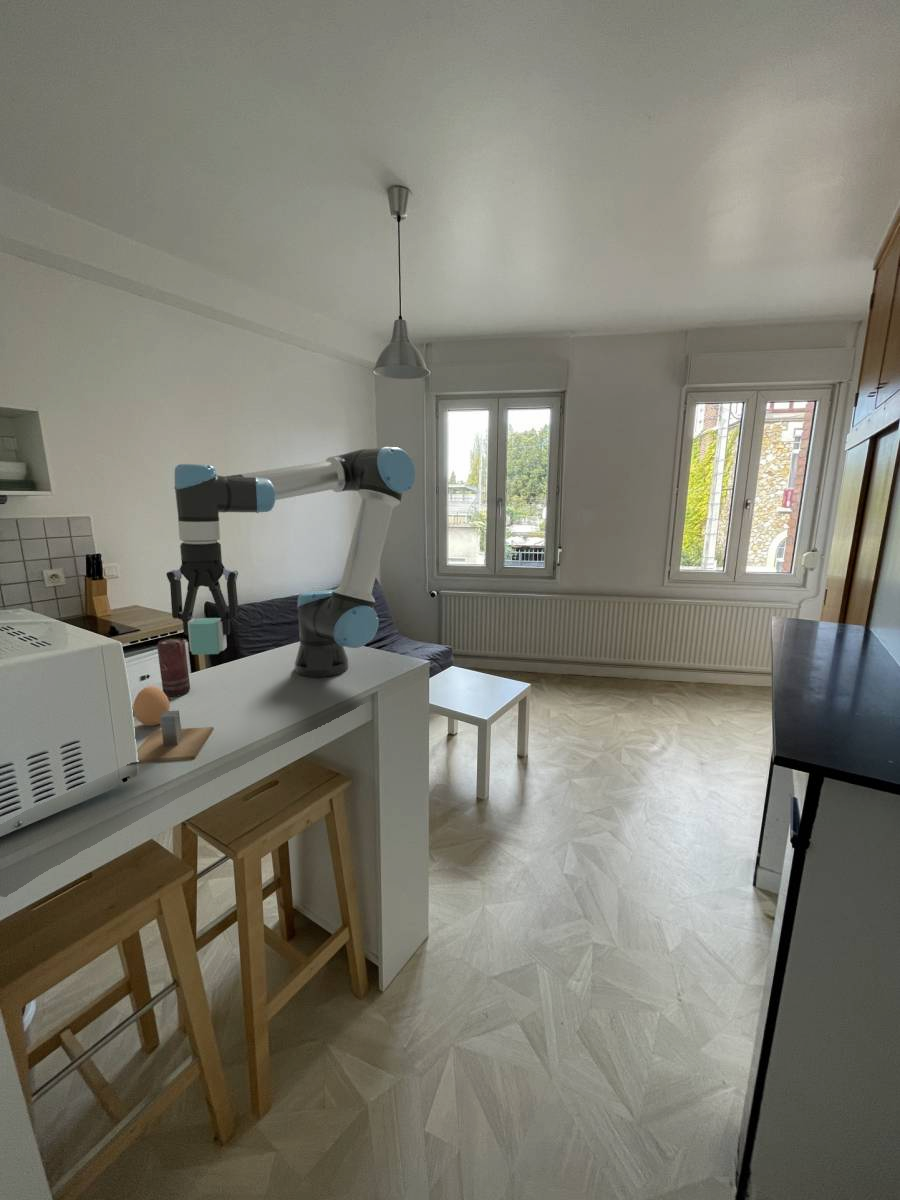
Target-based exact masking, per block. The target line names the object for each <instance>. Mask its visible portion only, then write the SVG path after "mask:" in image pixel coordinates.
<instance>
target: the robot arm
mask: <svg viewBox="0 0 900 1200" xmlns="http://www.w3.org/2000/svg"><path fill="white" fill-rule="evenodd" d="M173 476H174V488H173V489H174V490H175V491H174V493H175V499H176V500H175V501H176V509H177V522H178V536H179V537H178V538H179V540H180V541H182V542H181V543H180V545H179V548H180V559H181V565H180V567H179V569H175V570H173V569H172V570H170V571H168V572H167V573H166V577H167V580H168V582H169V584H170V586H169V589H170V600H171V602H170V603H171V616H172V618H173V619H175V620H176V619H178V620H181V621H182V626H183V627H182V628H183V635H185V636H188V642H189V652H192V651H191V639H190V627H189V624H190V623H192V622H193V621H195V620H196V618H194V617H193V616H194V615H193V612H194V607H195V604H196V600H197V594H198V590H199V588H200V587H206V588H207V587H208V590H209V592H210V593H211V595H212V598H213V601H214V603H215V606H216V609H217V612H218V615H219V618H221V619H220V620H219V621H218V634H219V647H220V652H223V651H224V652H225V650H226V648H227V647H228V643H227V636H228V635H230V633H231V621H230V620H231V619H233V618H236V617H237V616H238V615H239V600H238V592H237V591H238V590H237V580H238V579H237V578H238V576H239V571H237V570H229V569H227V568H225V566H224V564H223V562H222V560H223V559H222V546H221V543H220V542H218V541H219V540H221V533H220V532H221V531H220V517H219V514H220V513H256V514H259V513H268V512H270V511H272V510H273V508H274V507H275V503H276V501H278V500H284V499H289V498H293V497H301V496H305V495H309V494H315V493H320V492H326V491H333V492H335V493H341V492H345V491H346V492H349V491H350V492H351V491H353V492H357V493H358V495H359V496H360V499H361V502H360V506H359V509H358V514H357V518H356V522H355V525H354V526H355V527H354V529H353V533H352V537H351V541H350V545H349V549H348V553H347V557H346V561H345V564H344V569H343V573H342V577H341V581H340V584H339V586H338V587H336V588H335V589H320V590H311V591H307V592H302V593H300V594H299V595H298V597H297V605H296V608H297V615H298V632H299V633H298V634H299V647H298V650H297V654H296V658H295V661H294V671H295V673H297V674H298V675H300V676H303V677H309V678H324V677H331V676H336V675H339V674H341V673H344V672H345V671H347V670H348V669H349V658H348V655H347V653H346V650H345V647H347V648H350V649H357V648H362V647H364V646H365V645H367V644H368V643H370V641H372V640H373V639H374V637H375V636H376V634H377V632H378V629H379V624H380V622H379V617H378V614H377V612H376V611H375V605H376V600H375V597H374V596H373V589H374V585H375V581H376V578H377V574H378V571H379V570H378V569H379V566H380V563H381V562H380V561H381V559H382V555H383V554H382V553H383V549H384V546H385V541H386V537H387V533H388V529H389V526H390V523H391V518H392V514H393V510H394V508H396V507H397V506H399V505H400V504H401V502H402V501H401V500H402V497H403V494H405V493H407V492H409V490H411V489H412V488H413V486H414V485H415V482H416V467H415V464H414V463H413V459H412V458H411V455H410V454H408V452H406V450H404V449H402V448H399V447H392V446H384V447H378V448H377V447H376V448H362V449H359V450H354V451H350V452H347V453H343V454H339V455H335V456H329V457H327V458H326V459H325V461H319V462H313V463H306V464H305V463H304V464H300V465H299V464H298V465H292V466H285V467H279V468H272V469H271V468H270V469H265V470H260V471H253V472H252V471H251V472H245V473H239V474H232V475H226V476H223V475H217V471H216V467H214V466H213V465H208V464H207V465H206V464H191V463H190V464H189V463H187V464H186V463H184V464H183V463H181V464H177V465H176V466H175V468H174V475H173ZM182 576H183V577H184V578H185V579H186V580H187V581H188V583H187V588H186V590H187V592H186V596H185V601H184V606H183V596H182V582H181V580H182ZM222 576H224V579H225V581H226V591H227V601H228V606H227V603H226V600H225V597H224V595H223V593H222V592H223V591H222V590H221V589H222V588H221V584H220V581H219V580H220V579H221V577H222Z"/></svg>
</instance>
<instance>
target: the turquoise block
mask: <svg viewBox="0 0 900 1200" xmlns="http://www.w3.org/2000/svg"><path fill="white" fill-rule="evenodd" d="M195 619H196V618H195ZM220 619H221V617H202V618H201V617H197V619H196V620H195V621H193V622H192V623H190V624H189V627H190V639H191V651H190V652H191V655H219V654H220V653H221V651H220V647H219V634H218V621H219V620H220Z"/></svg>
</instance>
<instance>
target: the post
mask: <svg viewBox="0 0 900 1200" xmlns="http://www.w3.org/2000/svg"><path fill="white" fill-rule="evenodd" d="M180 715H181V714H180V711H179V710H169V711H165V712H164V713H163V714H162V715H161V717H160V721H161V723H160V726H161V730H162V736H163V744H164V746H176V745H178V744H179V743H180V742H181V740H182V732H181V729H182V725H181V716H180Z"/></svg>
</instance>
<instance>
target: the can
mask: <svg viewBox="0 0 900 1200" xmlns="http://www.w3.org/2000/svg"><path fill="white" fill-rule="evenodd" d="M156 646H157V655H158V662H159V663H158V664H159V672H160V678H161V686H162V687H161V688H162V691H163V692H164V693H165V695H166V696H167V698H169V697H170V698H173V697H174V698H175V697H176V698H177V697H181V696H183V695H186V694H187V693H189V692H190V690H191V683H190V674H189V673H190V672H189V667H188V657H187V648H186V642H185V641H184V638H182V637H169V638H168V637H167V638H164V639H161V640H159V641H158V644H157V645H156Z"/></svg>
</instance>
